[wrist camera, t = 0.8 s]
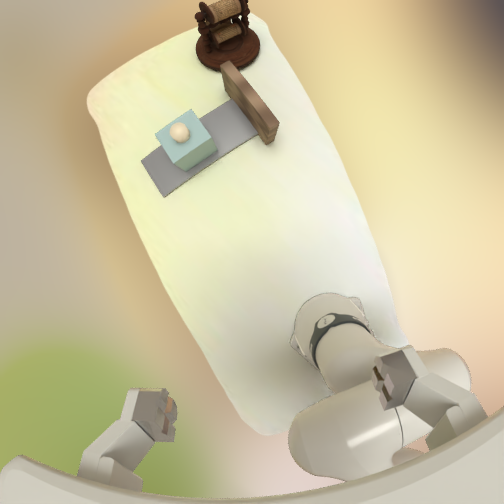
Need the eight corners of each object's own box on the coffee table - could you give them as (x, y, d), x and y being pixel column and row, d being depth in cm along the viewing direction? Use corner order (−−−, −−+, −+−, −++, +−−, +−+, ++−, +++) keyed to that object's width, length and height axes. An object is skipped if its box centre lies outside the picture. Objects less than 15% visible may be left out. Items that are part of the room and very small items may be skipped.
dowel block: (218, 150, 55) (209, 132, 42) (186, 171, 55) (168, 160, 42) (200, 125, 54) (187, 102, 41) (169, 146, 54) (149, 129, 41)
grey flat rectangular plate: (258, 134, 55) (258, 133, 54) (164, 197, 57) (163, 197, 56) (232, 100, 54) (232, 98, 53) (142, 161, 56) (140, 160, 55)
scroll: (238, 21, 51) (234, -31, 31) (271, 56, 52) (279, 3, 33) (186, 46, 52) (167, -3, 32) (217, 84, 53) (204, 34, 34)
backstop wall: (273, 140, 55) (279, 122, 43) (266, 145, 55) (269, 128, 43) (232, 86, 53) (229, 60, 42) (225, 90, 54) (219, 65, 42)
